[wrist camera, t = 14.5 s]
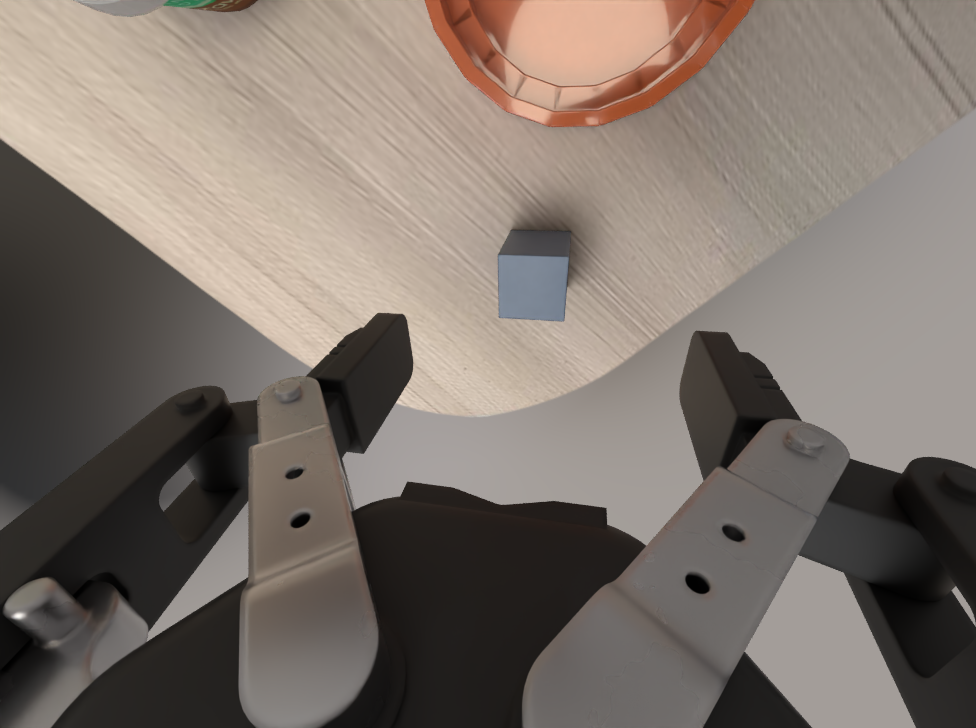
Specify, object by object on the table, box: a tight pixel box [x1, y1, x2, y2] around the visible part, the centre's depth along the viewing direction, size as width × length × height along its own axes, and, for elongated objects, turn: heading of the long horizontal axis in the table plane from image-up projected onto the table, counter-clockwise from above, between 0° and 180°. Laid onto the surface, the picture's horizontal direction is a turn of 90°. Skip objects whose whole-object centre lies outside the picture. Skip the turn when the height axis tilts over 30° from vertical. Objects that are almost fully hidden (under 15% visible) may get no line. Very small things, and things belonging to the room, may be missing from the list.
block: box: [498, 230, 571, 321], centre depth 30 cm, size 4×4×6 cm
